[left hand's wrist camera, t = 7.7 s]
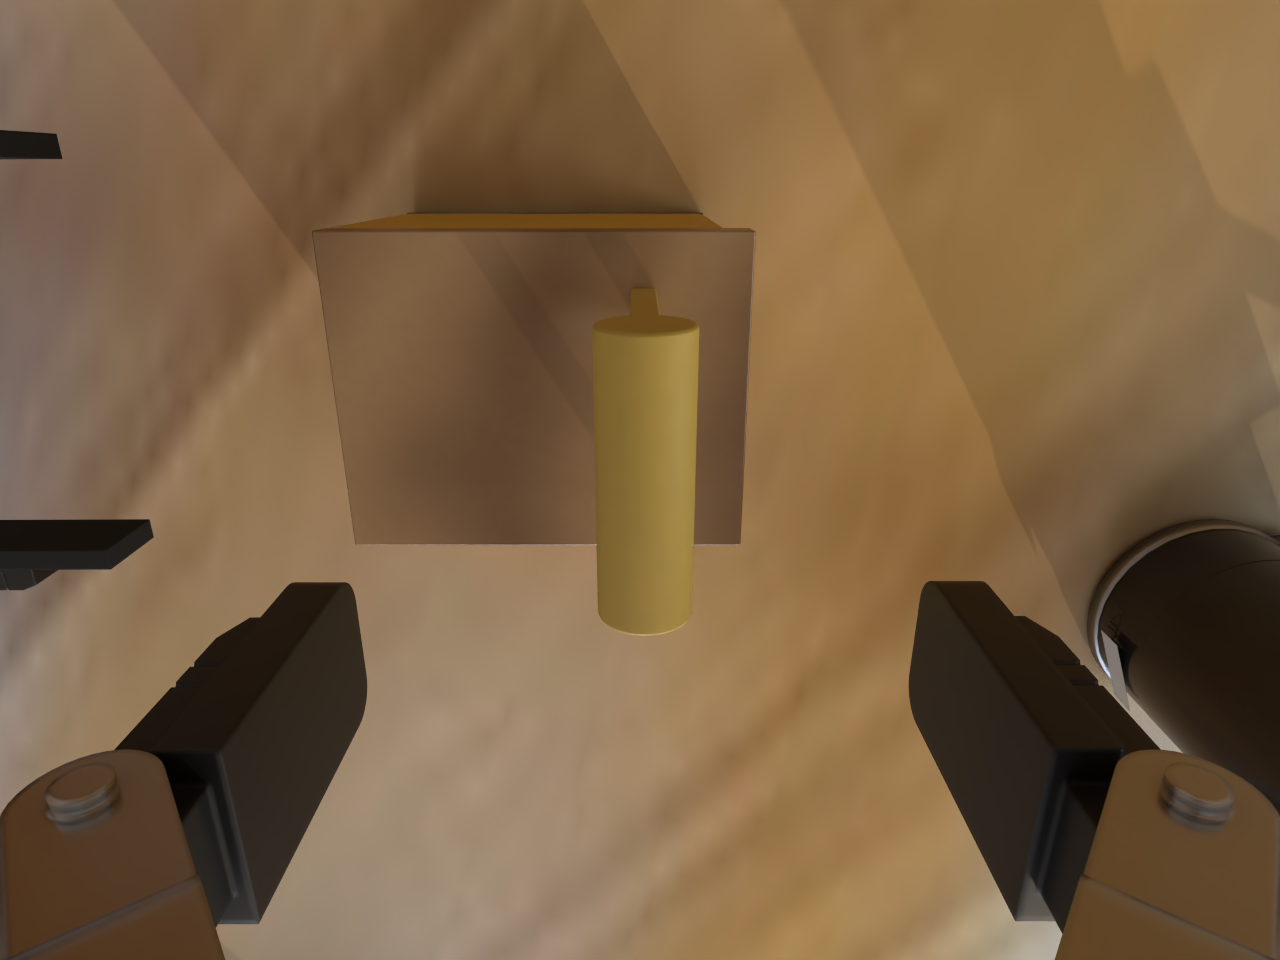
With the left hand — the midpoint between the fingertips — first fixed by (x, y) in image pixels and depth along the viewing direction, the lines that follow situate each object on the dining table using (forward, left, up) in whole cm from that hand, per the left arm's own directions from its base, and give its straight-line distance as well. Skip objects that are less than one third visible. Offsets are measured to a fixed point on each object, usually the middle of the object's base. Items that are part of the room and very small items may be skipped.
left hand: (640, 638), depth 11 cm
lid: (+3, -1, -14) cm, 14 cm away
